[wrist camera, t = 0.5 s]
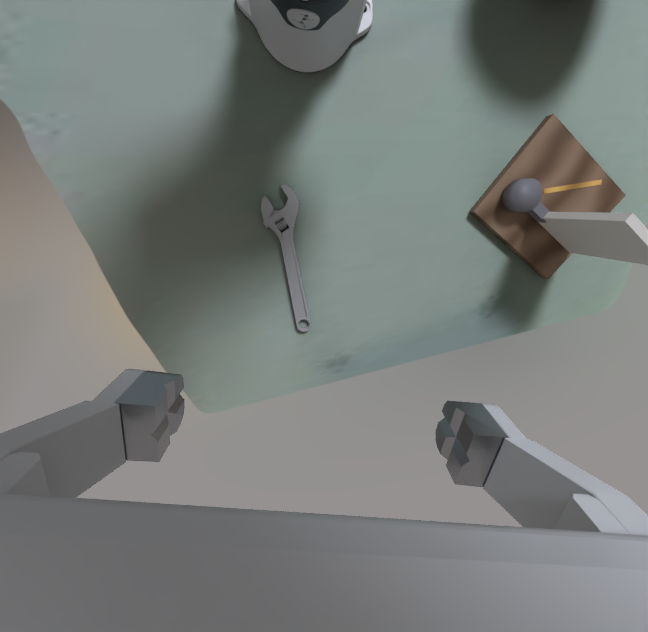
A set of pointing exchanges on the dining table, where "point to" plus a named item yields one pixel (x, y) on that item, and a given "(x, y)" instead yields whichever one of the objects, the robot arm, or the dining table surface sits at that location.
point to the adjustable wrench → (288, 249)
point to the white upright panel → (582, 226)
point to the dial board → (547, 194)
